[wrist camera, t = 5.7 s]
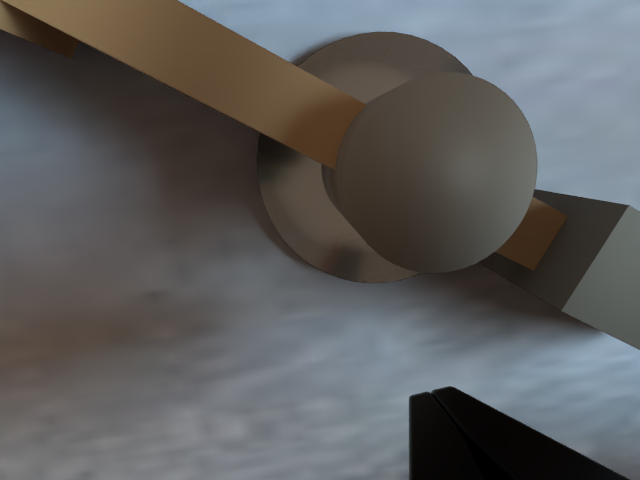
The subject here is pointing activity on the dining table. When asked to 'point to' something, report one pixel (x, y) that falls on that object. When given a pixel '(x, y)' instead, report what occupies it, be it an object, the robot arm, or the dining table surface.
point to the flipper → (385, 154)
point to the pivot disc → (305, 173)
